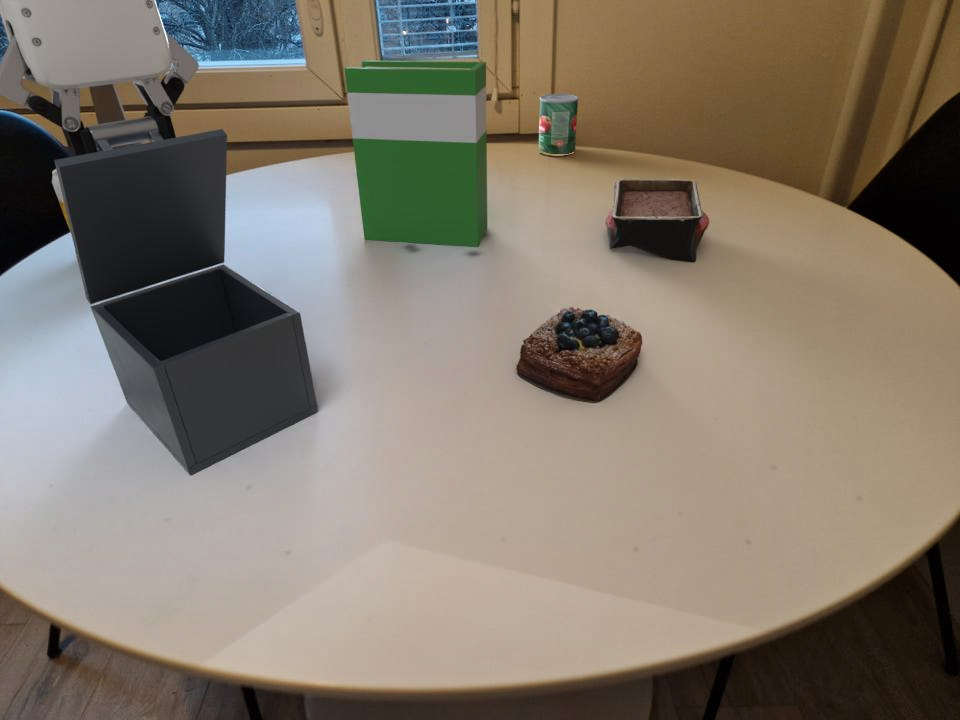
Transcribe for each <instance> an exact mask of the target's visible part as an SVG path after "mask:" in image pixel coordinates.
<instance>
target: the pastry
mask: <svg viewBox="0 0 960 720" xmlns="http://www.w3.org/2000/svg"><path fill="white" fill-rule="evenodd" d="M522 342H523V344H521V347H520V351H519V359H518V362H517V364H516V367H515V371H516V374H517V376H518V377H520V378H521V379H523V380H525V381H526V382H528V383H530V384H532V385H534V386H535V387H537V388H540V389H542V390H545V391H547V392H549V393H552V394H554V395H557V396H559V397H563V398H566V399H570V400H574V401H579V402H586V403H594V404H596V403H599V402H601V401H603V400H605V399H607V398H608V397H610V396H611V395H612V394H613V393H615V391H617V390H618V389H619V388H620V387H621V386H622V385H623V384H624V383H625V382H626V381H627V380H628V379H629V378H630V377H631V375H632V374H633V373H634V371H635V370H636V368H637V366H638V358H639V357H640V354H641V351H642V346H643V336H642V334H641V332H639V331H637V330H635V329H634V328H632V327H631V325H627V324H626V323H625V321H624V320H623V321H622V320H619V319H617V318H616V317H611V316H610V314H607V315H606V314H599V315H598V312H597V311H596V310H594V309H591V308H590V309H581V308H580V307H577V308H575V307H573V306H569V307H568V308H560V310H559V312H557V313H556V314H555V315H551V317H549V319H547V320H546V321H545V322H543V323H542V324H541V325H540V326H539V327H537V328H536V329H535V330H534V331H533V332H532V333H530V335H529V336H528V337H526V339H523V340H522Z"/></svg>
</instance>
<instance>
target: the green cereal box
mask: <svg viewBox="0 0 960 720" xmlns="http://www.w3.org/2000/svg"><path fill="white" fill-rule="evenodd" d="M343 70H344V77H345V85H346V94H347V102H348V109H349V121H350V128H351V136H352V137H351V138H352V145H353V153H354V154H353V155H354V162H355V170H356V179H357V187H358V196H359V205H360V213H361V221H362V222H361V223H362V230H363V231H362V232H363V239H364V240H366V241H378V242H379V241H380V242H393V243H395V242H397V243H409V244H410V243H411V244H424V245H425V244H428V245H442V246H459V247H473V248H477V247H479V246H480V244H481V242H482V240H483V239H484V236H485V234H486V233H487V230H488V159H487V158H488V146H487V145H488V137H487V136H488V135H487V131H488V129H487V128H488V127H487V61H451V60H449V61H445V60H444V61H441V60H440V61H439V60H437V61H436V60H375V59H374V60H373V59H372V60H371V59H369V60H368V59H363V60H361V67H354V66H353V67H349V66H348V67H344V69H343Z"/></svg>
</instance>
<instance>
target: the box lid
mask: <svg viewBox="0 0 960 720" xmlns="http://www.w3.org/2000/svg"><path fill="white" fill-rule="evenodd" d="M84 128H85V129H87V130H89V131H90V132H91V134H92V136H93V139H94V142H95V145H96V148H97V150H100V152H95V153H90V154H85V155H79V156H74V157H72V156H68V157H64V158H58V159H54V165H55V169H56V170H57V174H58V178H59V183H60V187H61V191H62V195H63V200H64V204H65V208H66V213H67V217H68V221H69V226H70V230H71V232H70V234H72V235H71V237H72V242H73V247H74V251H75V256H76V260H77V263H78V264H77V265H78V268H79V273H80V277H81V281H82V287H83V290H84V294H85V299H86V300H87V302H88V304H90V305H94V304H97V303H99V302H100V303H101V302H102V301H103V302H104V301H107V300H110V299H113V298H117V297H120V296H123V295H126V294H129V293H133V292H136V291H139V290H142V289H143V288H148V287H152V286H155V285H158V284H161V283H163V282H168V281H171V280H174V279H177V278H180V277H184V276H187V275H190V274H193V273H196V272H200V271H203V270H206V269H209V268H212V267H216V266H219V265H222V264H224V263H225V251H226V250H225V247H226V244H225V243H226V208H227V207H226V206H227V205H226V203H227V165H228V164H227V159H228V158H227V157H228V156H227V155H228V134H227V133H226V131H225V130H224V129H223V128H220V129H215V130H209V131H204V132H198V133H193V134H188V135H181V136H176V138H171V139H165V140H164V139H163V138H162V136H161V135H160V133H159V128H158V125H157V123H156V121H155V119H154V118H153V117H152V116H147V117H144V116H142V117H135V118H128V119H127V120H122V121H116V122H110V123H104V124H98V123H97V124H91V125H87V126H85V127H84ZM150 140H151V141H152V142H151V141H150ZM143 141H144V142H145V143H144V144H138V145H133V146H128V147H122V148H117V149H112V147H116V146H121V145H126V144H132V143H137V142H143ZM149 141H150V142H149ZM70 230H69V231H70Z"/></svg>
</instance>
